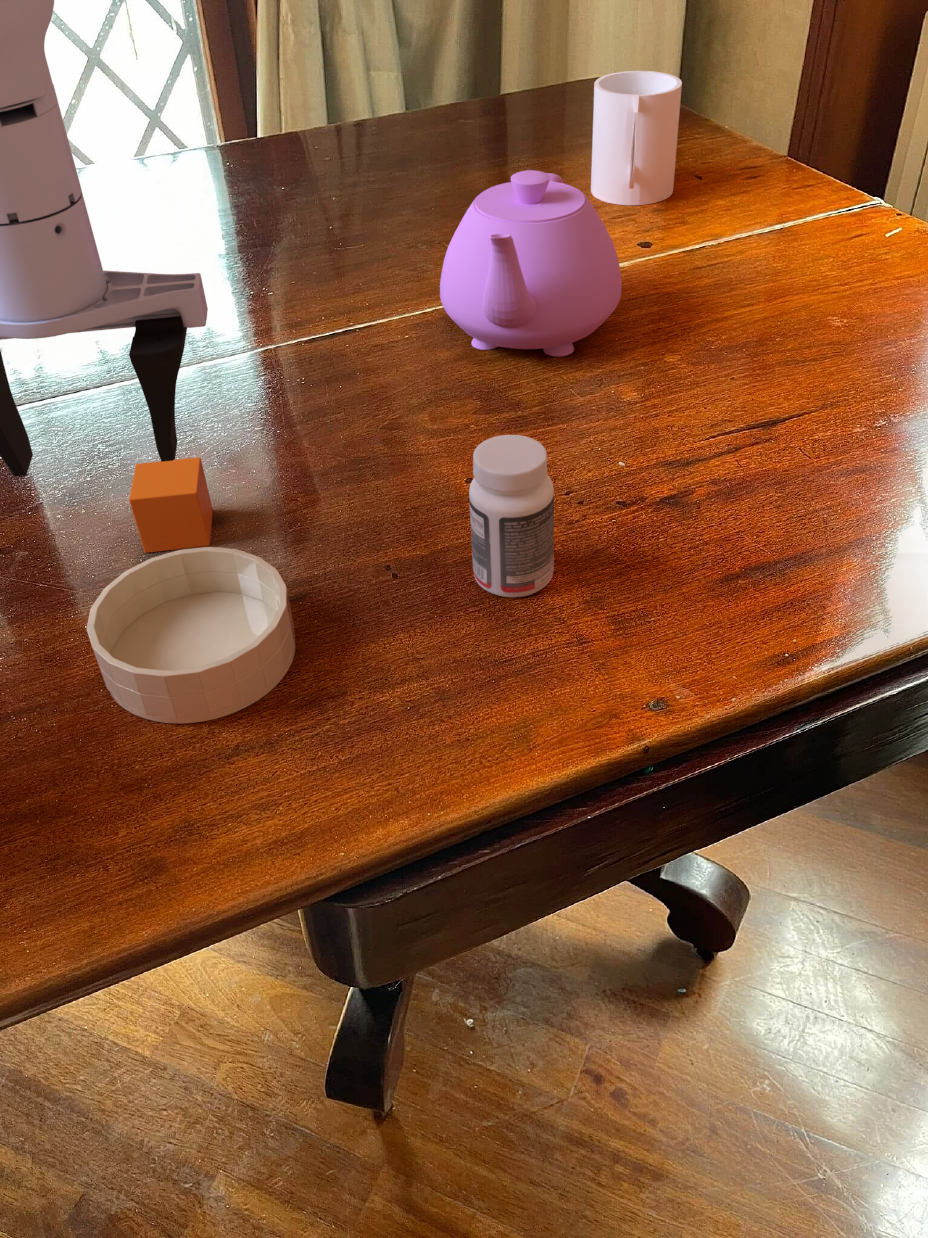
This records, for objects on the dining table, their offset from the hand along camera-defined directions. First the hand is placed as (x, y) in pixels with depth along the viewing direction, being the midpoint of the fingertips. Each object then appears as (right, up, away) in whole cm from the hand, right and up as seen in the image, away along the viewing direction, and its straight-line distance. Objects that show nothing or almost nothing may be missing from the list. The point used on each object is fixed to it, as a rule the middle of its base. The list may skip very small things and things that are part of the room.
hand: (96, 458), depth 58 cm
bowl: (+5, -10, +2) cm, 12 cm away
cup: (+36, +33, +51) cm, 70 cm away
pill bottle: (+22, -6, +6) cm, 24 cm away
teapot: (+25, +14, +29) cm, 41 cm away
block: (+2, -3, +11) cm, 11 cm away
